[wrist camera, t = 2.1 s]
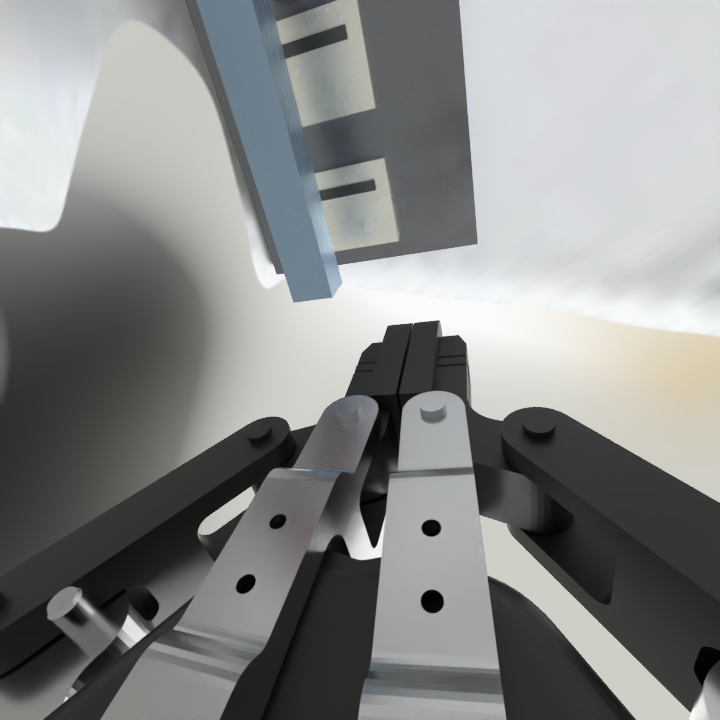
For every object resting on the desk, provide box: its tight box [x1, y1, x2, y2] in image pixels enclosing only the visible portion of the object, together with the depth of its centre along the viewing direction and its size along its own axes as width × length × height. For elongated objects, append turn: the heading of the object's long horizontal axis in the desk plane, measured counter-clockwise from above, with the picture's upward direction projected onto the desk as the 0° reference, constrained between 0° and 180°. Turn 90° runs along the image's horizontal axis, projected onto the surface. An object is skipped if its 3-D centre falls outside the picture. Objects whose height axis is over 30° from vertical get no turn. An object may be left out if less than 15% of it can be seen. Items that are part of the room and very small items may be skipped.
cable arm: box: [196, 0, 342, 302], centre depth 22 cm, size 19×4×3 cm, turn 13°
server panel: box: [186, 0, 477, 274], centre depth 25 cm, size 16×19×6 cm
